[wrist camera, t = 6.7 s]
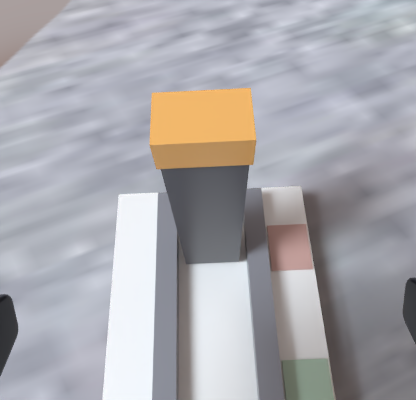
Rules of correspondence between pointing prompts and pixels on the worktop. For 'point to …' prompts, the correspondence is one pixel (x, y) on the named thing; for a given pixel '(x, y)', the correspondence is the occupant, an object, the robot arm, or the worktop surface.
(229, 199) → the handle
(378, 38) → the worktop surface
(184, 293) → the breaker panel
